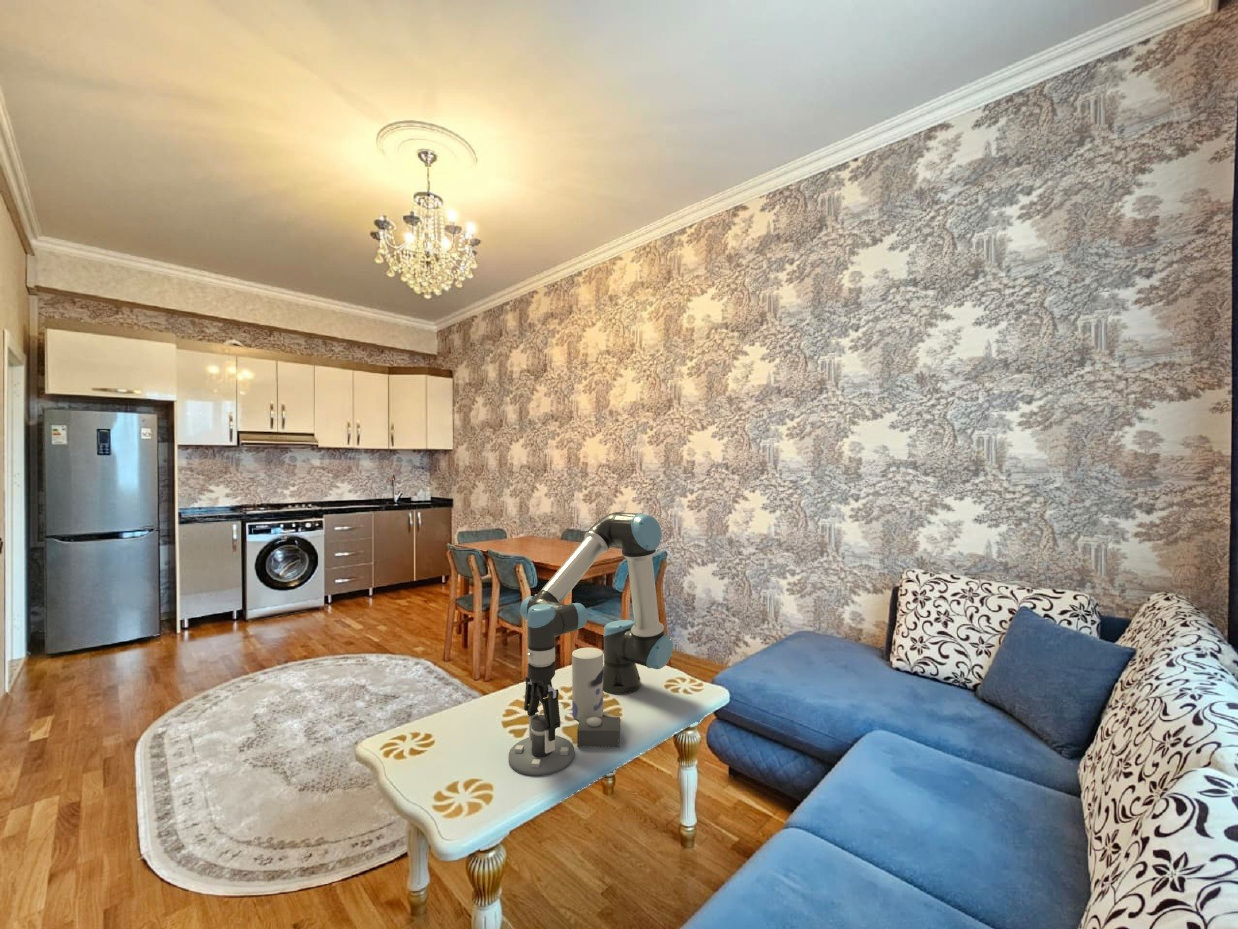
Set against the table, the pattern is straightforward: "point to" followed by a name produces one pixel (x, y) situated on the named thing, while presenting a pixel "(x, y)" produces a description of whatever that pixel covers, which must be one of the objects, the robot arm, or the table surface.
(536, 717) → the grey rounded cylinder
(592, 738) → the camera body block
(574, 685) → the container
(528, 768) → the plate
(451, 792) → the table surface
